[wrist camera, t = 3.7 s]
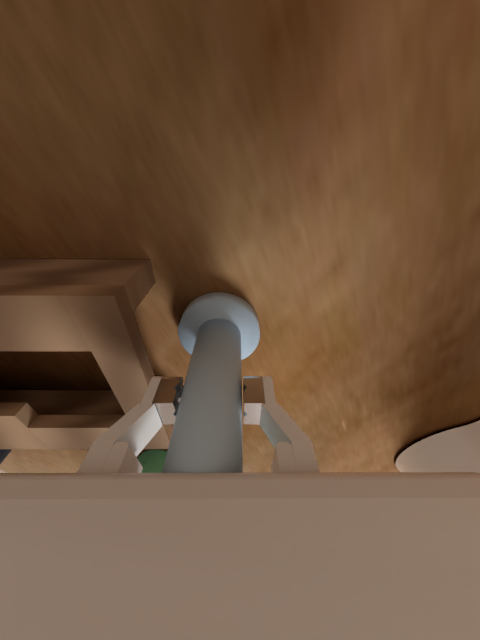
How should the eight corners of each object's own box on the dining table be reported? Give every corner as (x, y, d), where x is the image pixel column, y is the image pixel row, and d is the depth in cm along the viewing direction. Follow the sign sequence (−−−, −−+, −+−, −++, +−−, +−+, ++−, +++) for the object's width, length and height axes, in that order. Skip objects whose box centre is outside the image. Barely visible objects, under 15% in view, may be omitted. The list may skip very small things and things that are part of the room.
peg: (260, 292, 14) (309, 569, 4) (256, 353, 17) (279, 592, 8) (176, 291, 14) (32, 570, 4) (187, 353, 17) (120, 592, 8)
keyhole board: (149, 259, 13) (113, 295, 9) (184, 399, 21) (172, 449, 17) (-188, 258, 13) (-361, 294, 9) (-22, 399, 21) (-78, 449, 17)
